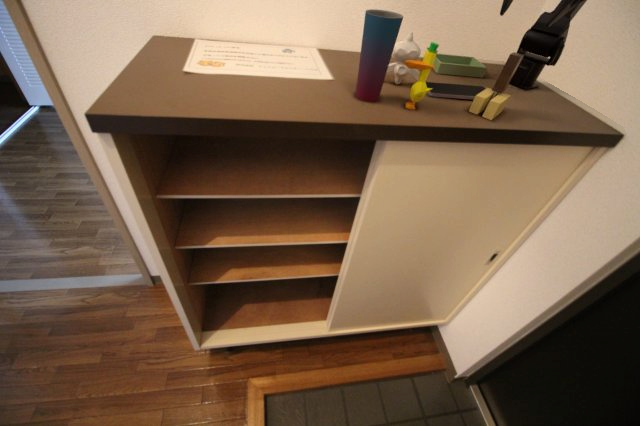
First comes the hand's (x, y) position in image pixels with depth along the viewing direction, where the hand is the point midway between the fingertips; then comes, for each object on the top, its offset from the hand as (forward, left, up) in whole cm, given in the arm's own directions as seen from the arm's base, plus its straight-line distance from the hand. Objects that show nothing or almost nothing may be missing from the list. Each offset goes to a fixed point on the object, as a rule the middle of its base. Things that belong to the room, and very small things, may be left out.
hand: (523, 20), depth 56 cm
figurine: (+16, -14, -16) cm, 26 cm away
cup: (+28, -10, -16) cm, 33 cm away
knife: (+4, +4, -16) cm, 17 cm away
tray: (-9, -18, -16) cm, 25 cm away
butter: (+6, +5, -16) cm, 17 cm away
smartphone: (+5, -4, -16) cm, 17 cm away
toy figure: (+22, -3, -16) cm, 27 cm away
